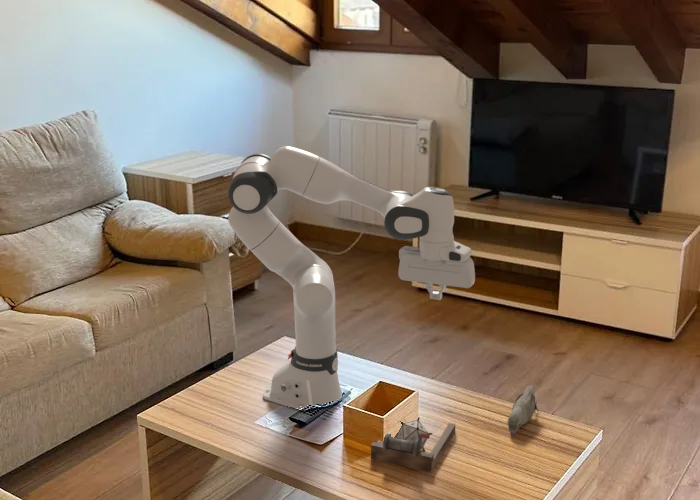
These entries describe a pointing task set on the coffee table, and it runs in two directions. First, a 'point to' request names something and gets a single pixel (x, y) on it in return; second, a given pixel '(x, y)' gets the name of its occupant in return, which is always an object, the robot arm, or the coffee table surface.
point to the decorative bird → (522, 409)
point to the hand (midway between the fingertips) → (435, 298)
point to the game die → (412, 431)
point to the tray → (411, 450)
